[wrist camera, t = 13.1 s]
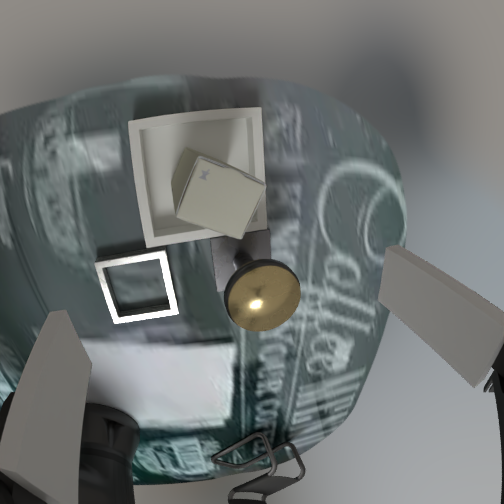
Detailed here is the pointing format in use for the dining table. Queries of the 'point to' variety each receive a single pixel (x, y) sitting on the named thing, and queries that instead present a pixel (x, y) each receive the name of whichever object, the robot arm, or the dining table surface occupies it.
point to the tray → (168, 155)
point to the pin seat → (130, 258)
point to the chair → (265, 482)
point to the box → (214, 194)
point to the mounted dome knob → (254, 281)
